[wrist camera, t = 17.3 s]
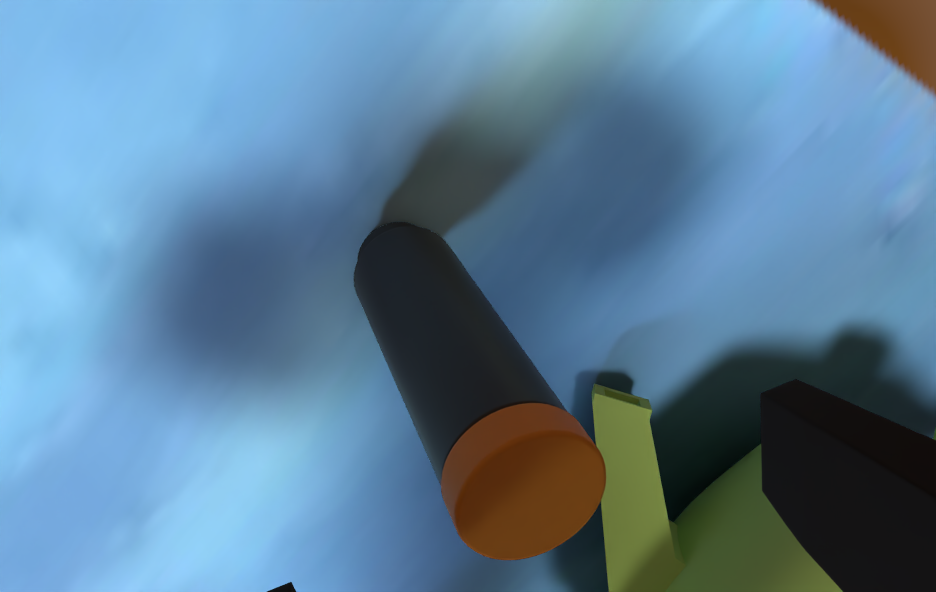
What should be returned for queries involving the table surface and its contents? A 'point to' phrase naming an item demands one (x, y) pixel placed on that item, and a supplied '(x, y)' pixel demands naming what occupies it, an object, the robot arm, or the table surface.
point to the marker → (476, 400)
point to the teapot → (690, 519)
